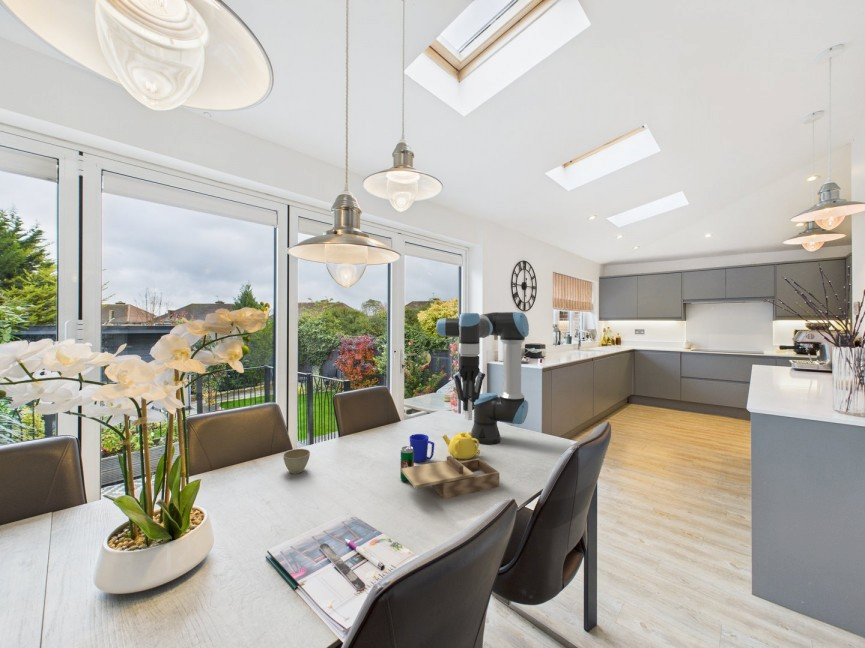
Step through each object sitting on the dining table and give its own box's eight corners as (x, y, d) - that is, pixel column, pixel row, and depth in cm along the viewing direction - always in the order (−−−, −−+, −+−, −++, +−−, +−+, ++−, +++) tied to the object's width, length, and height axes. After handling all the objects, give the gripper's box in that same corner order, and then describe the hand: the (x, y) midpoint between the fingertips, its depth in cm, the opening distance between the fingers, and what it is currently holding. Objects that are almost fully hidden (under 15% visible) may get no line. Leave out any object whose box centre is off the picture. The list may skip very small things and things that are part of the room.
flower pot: (280, 477, 135) (280, 459, 135) (285, 466, 145) (286, 449, 144) (308, 475, 137) (308, 457, 137) (311, 465, 147) (311, 447, 146)
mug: (427, 467, 145) (427, 443, 145) (405, 460, 152) (405, 437, 152) (439, 461, 151) (439, 438, 151) (417, 454, 159) (417, 432, 159)
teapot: (470, 449, 165) (470, 426, 165) (483, 460, 153) (483, 435, 152) (441, 453, 161) (441, 429, 161) (452, 465, 148) (452, 438, 148)
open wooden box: (478, 473, 140) (478, 458, 140) (499, 489, 127) (499, 472, 127) (427, 483, 131) (427, 467, 131) (444, 501, 118) (444, 483, 118)
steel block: (480, 478, 134) (480, 470, 134) (485, 481, 131) (485, 473, 131) (469, 480, 132) (469, 472, 132) (473, 484, 129) (473, 475, 129)
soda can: (408, 475, 138) (408, 444, 138) (416, 479, 134) (416, 448, 134) (397, 479, 134) (397, 447, 134) (406, 483, 131) (406, 451, 130)
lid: (455, 461, 136) (455, 452, 136) (474, 476, 123) (474, 466, 123) (401, 471, 127) (401, 461, 127) (415, 488, 114) (415, 478, 114)
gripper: (479, 353, 135) (478, 414, 136) (448, 354, 130) (447, 418, 130) (489, 355, 129) (489, 420, 129) (458, 356, 123) (457, 424, 124)
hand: (468, 419), depth 130 cm, fingers closed
